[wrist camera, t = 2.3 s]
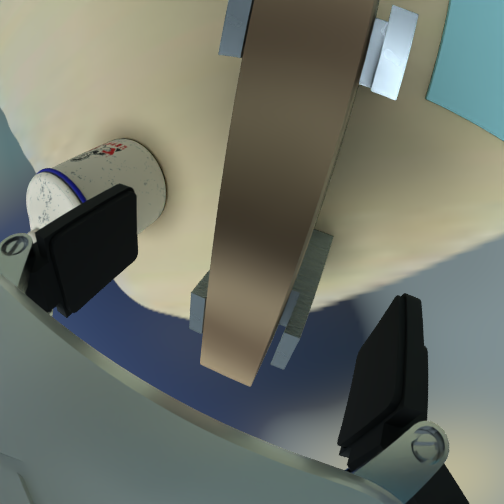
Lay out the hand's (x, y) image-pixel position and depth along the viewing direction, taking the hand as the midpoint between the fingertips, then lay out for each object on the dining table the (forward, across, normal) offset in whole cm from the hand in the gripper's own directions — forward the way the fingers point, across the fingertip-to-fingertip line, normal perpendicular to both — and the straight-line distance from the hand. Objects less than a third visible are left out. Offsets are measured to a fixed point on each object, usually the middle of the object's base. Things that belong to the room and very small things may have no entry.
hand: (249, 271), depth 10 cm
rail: (+5, 0, -1) cm, 5 cm away
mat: (+12, -9, -18) cm, 23 cm away
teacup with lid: (+12, +17, +7) cm, 22 cm away
